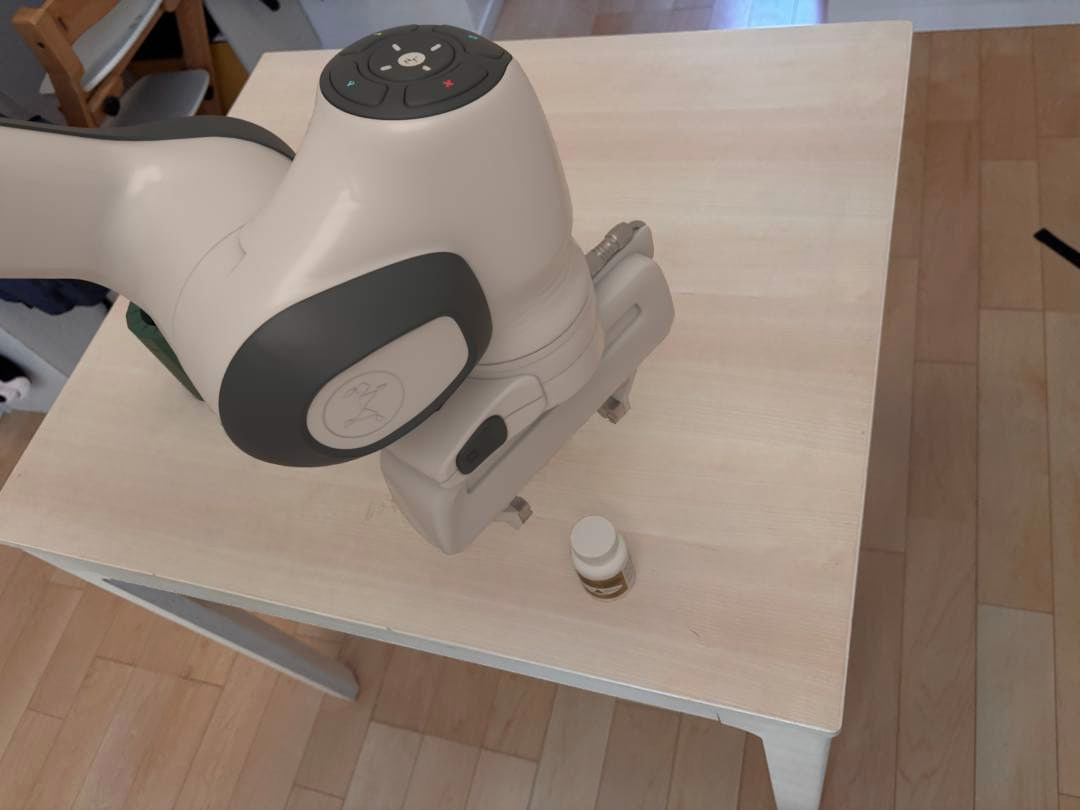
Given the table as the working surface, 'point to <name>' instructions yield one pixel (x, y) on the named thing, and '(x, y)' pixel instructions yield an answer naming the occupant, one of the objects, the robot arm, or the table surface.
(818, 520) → the table surface
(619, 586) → the pill bottle
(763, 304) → the table surface
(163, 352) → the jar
